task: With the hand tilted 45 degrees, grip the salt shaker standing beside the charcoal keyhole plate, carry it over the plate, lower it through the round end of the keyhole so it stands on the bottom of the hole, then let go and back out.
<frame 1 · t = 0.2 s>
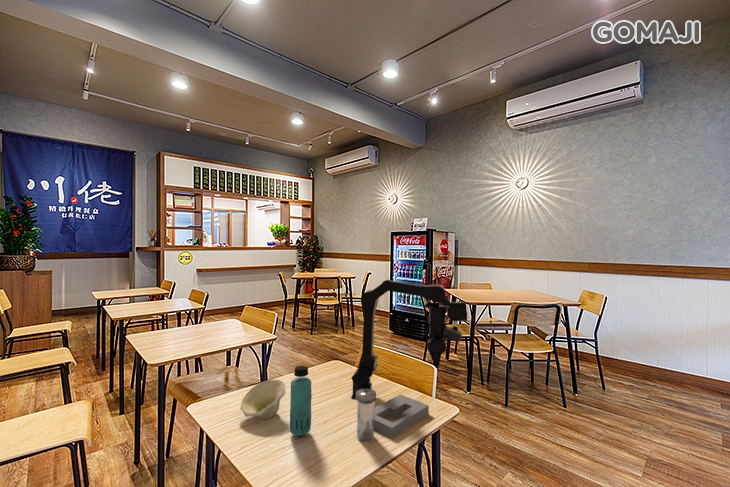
hand: (437, 363, 119), 15 cm above the table, tool pointing down, fingers open, 9 cm apart
beverage bottle: (300, 435, 99), on the table
keyhole plate: (396, 418, 109), on the table
bowl: (263, 417, 109), on the table
salt shaker: (365, 437, 98), on the table
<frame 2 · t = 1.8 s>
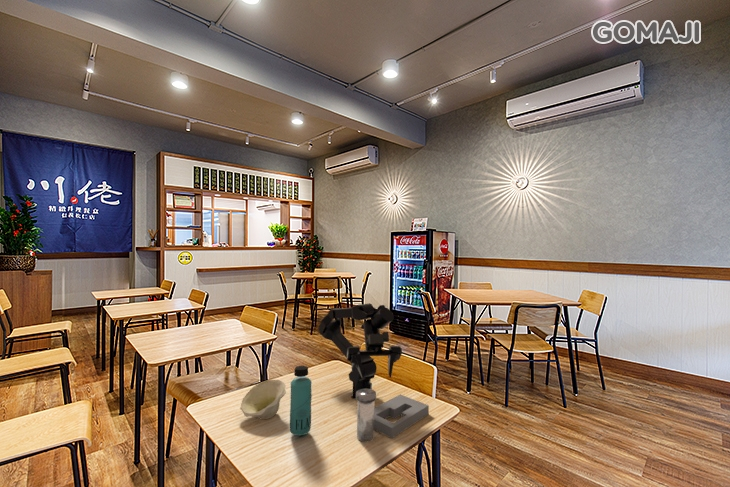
hand: (376, 377, 109), 13 cm above the table, tool tilted 45°, fingers open, 9 cm apart
nothing on the table moved.
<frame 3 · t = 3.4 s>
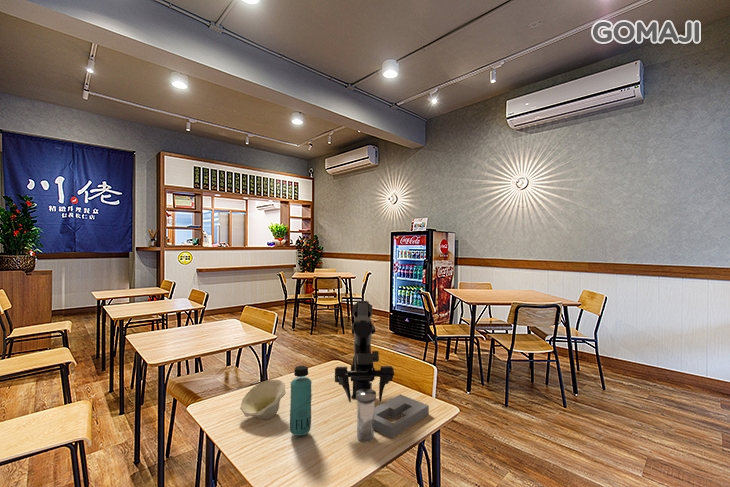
hand: (365, 401, 100), 9 cm above the table, tool tilted 45°, fingers open, 9 cm apart
nothing on the table moved.
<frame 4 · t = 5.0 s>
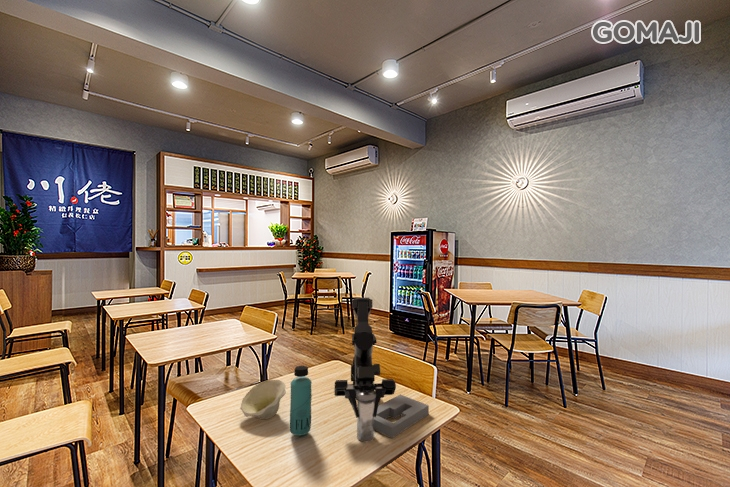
hand: (366, 417, 97), 7 cm above the table, tool tilted 45°, fingers closed on salt shaker, 5 cm apart
salt shaker: (365, 437, 98), on the table, touching gripper
everything else where it was.
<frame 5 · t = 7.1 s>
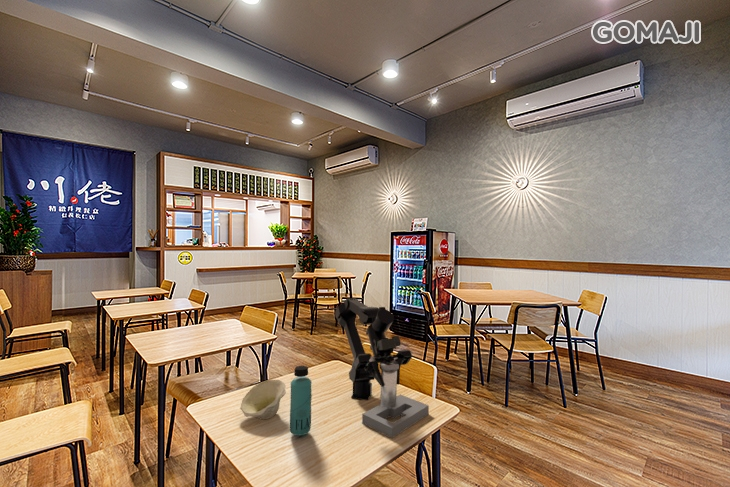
hand: (390, 385, 103), 13 cm above the table, tool tilted 45°, fingers closed on salt shaker, 5 cm apart
salt shaker: (388, 404, 104), point 7 cm above the table, touching gripper
everything else where it was.
when the fingers open (7 cm above the table, at t = 9.1 s): salt shaker stays where it is, resting in keyhole plate.
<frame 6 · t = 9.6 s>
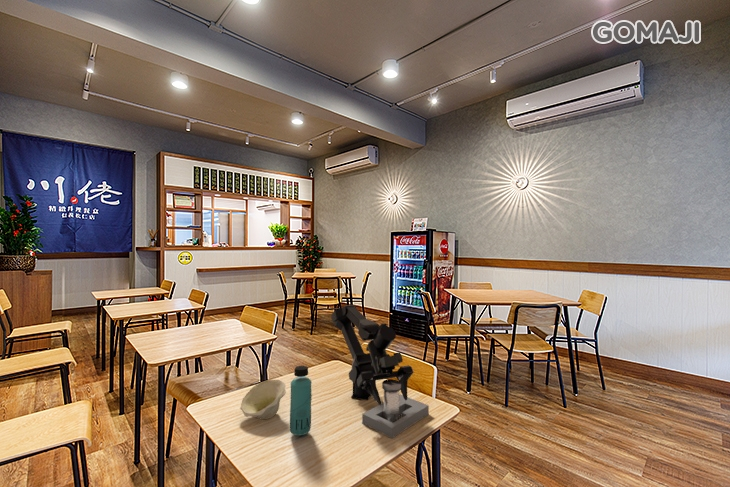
hand: (393, 402, 104), 8 cm above the table, tool tilted 45°, fingers open, 9 cm apart
salt shaker: (391, 424, 105), resting in keyhole plate
everything else where it was.
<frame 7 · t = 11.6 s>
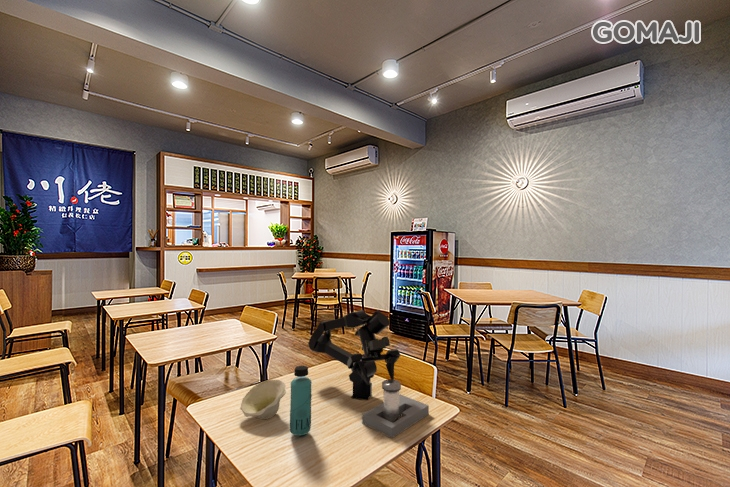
hand: (380, 382, 112), 11 cm above the table, tool tilted 45°, fingers open, 9 cm apart
nothing on the table moved.
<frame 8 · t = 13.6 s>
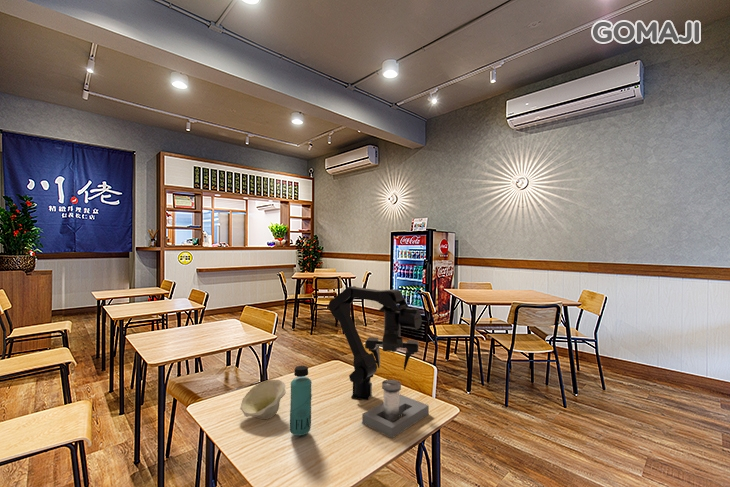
hand: (391, 368, 118), 13 cm above the table, tool pointing down, fingers open, 9 cm apart
nothing on the table moved.
at the end: salt shaker 0.1 cm from the target spot, resting in keyhole plate; salt shaker tilted 0°; the gripper is holding nothing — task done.
